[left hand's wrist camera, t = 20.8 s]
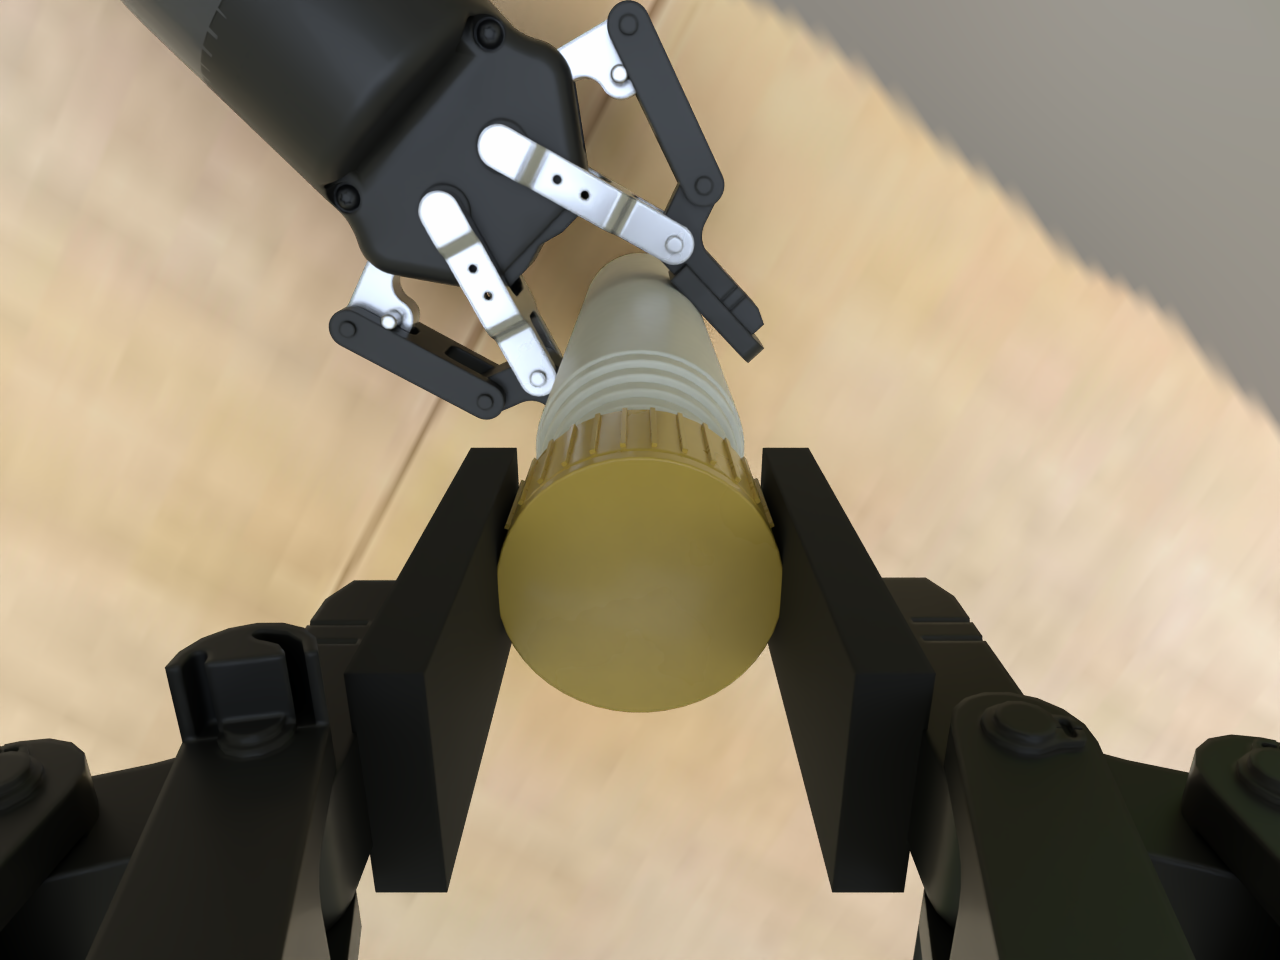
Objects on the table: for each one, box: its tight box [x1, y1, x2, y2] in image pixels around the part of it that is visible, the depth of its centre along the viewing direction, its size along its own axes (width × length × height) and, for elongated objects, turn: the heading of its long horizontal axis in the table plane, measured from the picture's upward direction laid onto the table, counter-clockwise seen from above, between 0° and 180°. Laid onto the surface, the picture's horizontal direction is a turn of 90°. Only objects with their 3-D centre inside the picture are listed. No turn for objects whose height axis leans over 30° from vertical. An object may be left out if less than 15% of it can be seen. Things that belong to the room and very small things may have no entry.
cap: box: [497, 407, 782, 712], centre depth 13 cm, size 4×4×2 cm
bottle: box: [536, 253, 744, 460], centre depth 23 cm, size 4×4×23 cm
